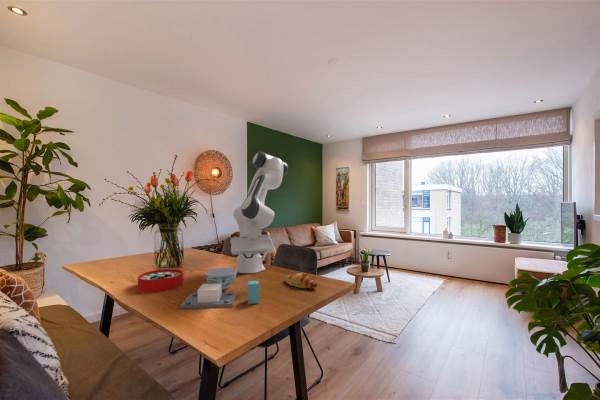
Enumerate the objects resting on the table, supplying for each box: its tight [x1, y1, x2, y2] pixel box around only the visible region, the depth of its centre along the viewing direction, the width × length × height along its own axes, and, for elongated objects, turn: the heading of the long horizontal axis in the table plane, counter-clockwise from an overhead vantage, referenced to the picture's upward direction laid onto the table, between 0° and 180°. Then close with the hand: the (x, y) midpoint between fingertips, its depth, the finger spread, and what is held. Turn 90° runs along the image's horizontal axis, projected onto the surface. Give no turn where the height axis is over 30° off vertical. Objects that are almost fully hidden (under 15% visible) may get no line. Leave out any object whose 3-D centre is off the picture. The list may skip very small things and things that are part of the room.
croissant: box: [284, 272, 318, 290], centre depth 134 cm, size 21×10×8 cm, turn 49°
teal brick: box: [247, 280, 260, 305], centre depth 112 cm, size 4×4×8 cm
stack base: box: [179, 283, 238, 310], centre depth 112 cm, size 13×20×6 cm, turn 96°
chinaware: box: [204, 267, 238, 290], centre depth 131 cm, size 15×15×8 cm
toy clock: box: [137, 268, 184, 293], centre depth 133 cm, size 20×6×20 cm
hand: (253, 260), depth 125 cm, fingers open, 8 cm apart
